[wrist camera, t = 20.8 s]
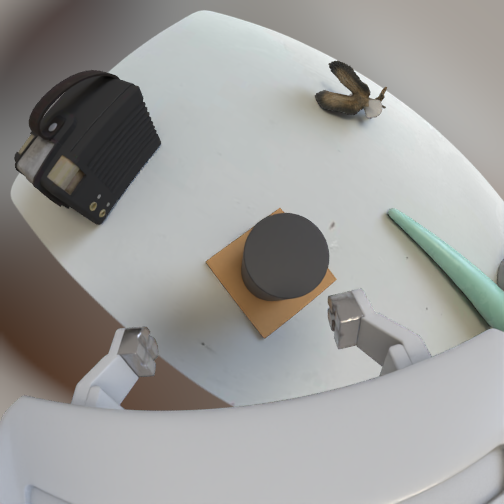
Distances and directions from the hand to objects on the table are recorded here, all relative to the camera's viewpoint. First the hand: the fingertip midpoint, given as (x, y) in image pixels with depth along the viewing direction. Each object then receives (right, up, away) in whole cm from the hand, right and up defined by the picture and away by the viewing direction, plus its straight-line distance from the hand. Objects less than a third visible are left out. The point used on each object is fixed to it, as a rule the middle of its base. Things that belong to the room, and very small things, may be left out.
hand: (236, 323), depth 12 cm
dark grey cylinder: (+3, +1, +17) cm, 17 cm away
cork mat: (+3, +1, +18) cm, 18 cm away
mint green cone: (+28, 0, +19) cm, 34 cm away
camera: (-18, +14, +19) cm, 30 cm away
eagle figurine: (+15, +25, +23) cm, 37 cm away
